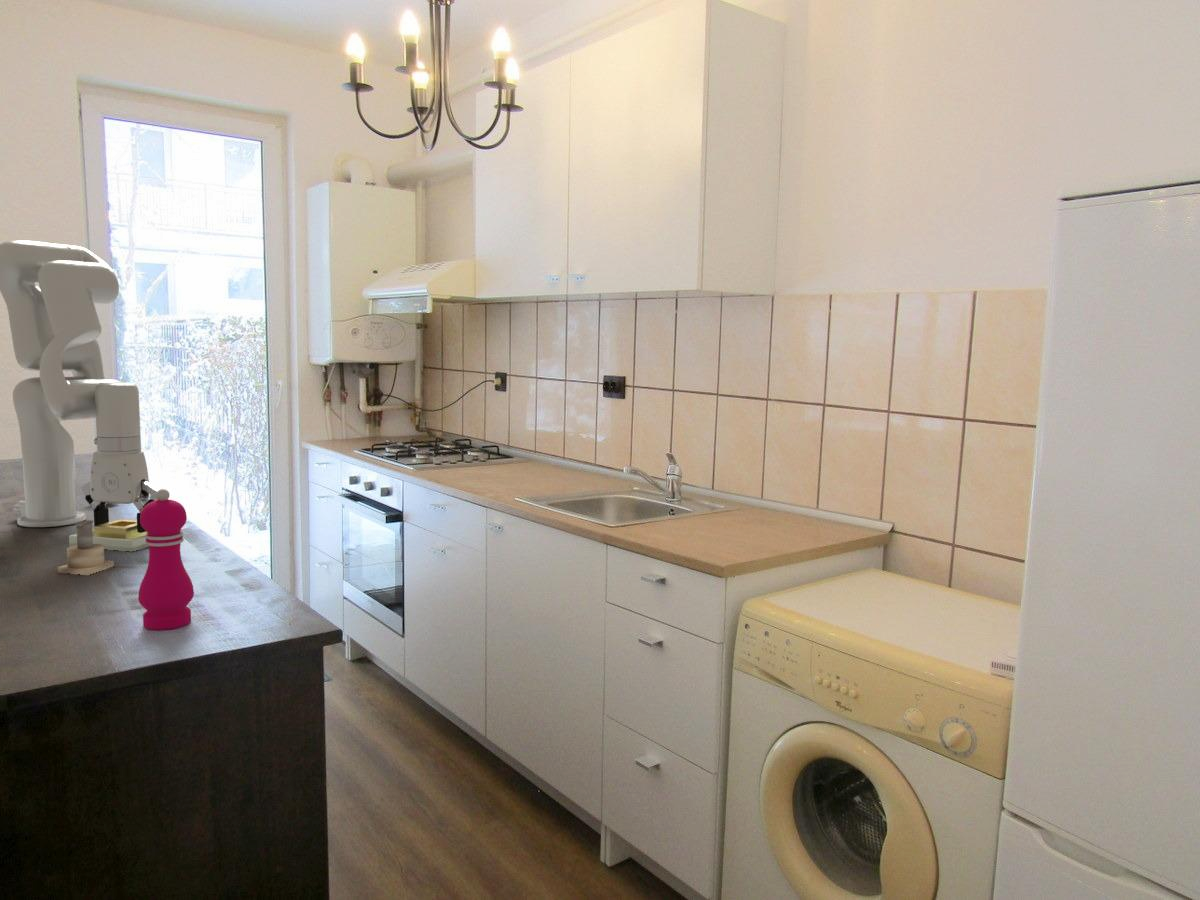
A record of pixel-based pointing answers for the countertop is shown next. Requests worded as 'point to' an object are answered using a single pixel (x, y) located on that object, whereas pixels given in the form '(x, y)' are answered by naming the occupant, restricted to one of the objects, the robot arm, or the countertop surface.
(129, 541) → the tray
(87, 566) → the beige post on base
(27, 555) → the countertop surface
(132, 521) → the ring
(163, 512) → the pepper mill
